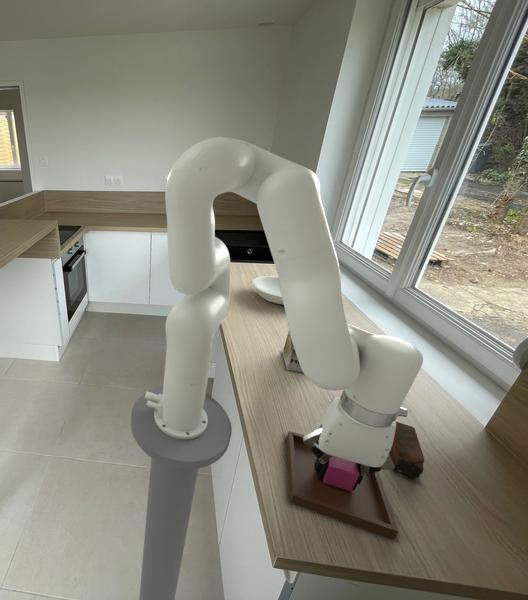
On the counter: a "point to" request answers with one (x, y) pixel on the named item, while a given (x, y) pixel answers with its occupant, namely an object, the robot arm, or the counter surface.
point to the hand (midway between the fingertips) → (334, 477)
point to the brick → (407, 451)
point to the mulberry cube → (341, 473)
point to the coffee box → (291, 355)
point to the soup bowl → (268, 288)
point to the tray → (337, 493)
